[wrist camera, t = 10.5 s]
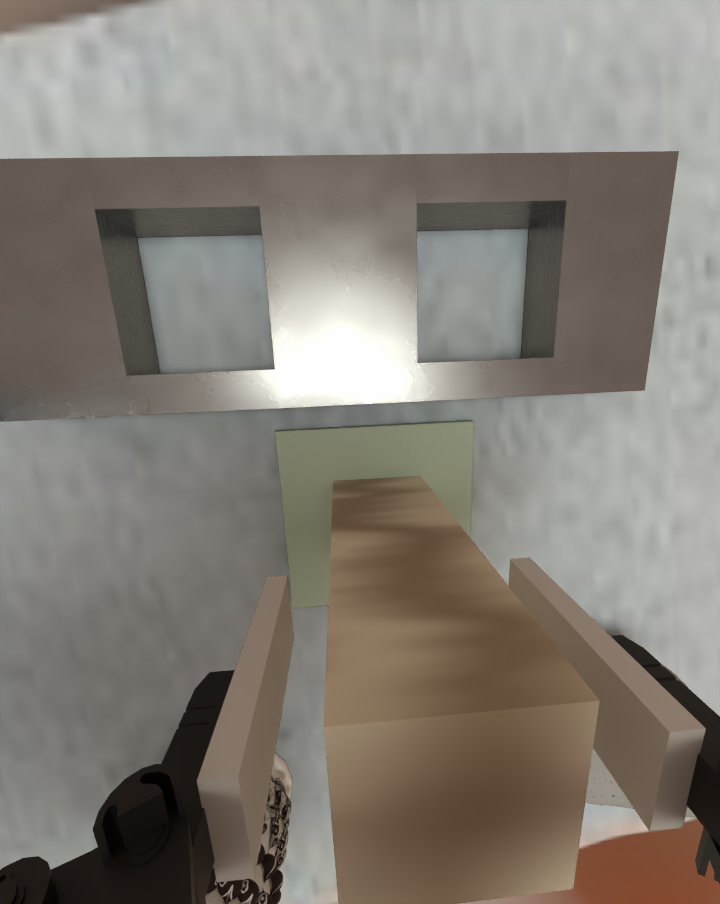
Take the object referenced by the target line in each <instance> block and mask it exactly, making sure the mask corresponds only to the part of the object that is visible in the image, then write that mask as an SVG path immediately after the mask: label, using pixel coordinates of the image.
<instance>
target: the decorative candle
mask: <svg viewBox="0 0 720 904" xmlns="http://www.w3.org/2000/svg"><path fill="white" fill-rule="evenodd" d="M291 786H292V776H291V774H290V772H289V769H288V767H287V765H286V762H285V761H284V760H283V759H282V758H280V757H279V756H278V755H277V754H276V753H275V756H274V762H273V768H272V775H271V781H270V787H269V793H268V799H267V805H266V811H265V817H264V824H263V830H262V836H261V842H260V848H259V854H258V860H257V867H256V873H255V878H251V879H242V880H234V881H225V882H217V881H216V876H215V871H214V866H213V869H212V873H211V877H210V881H209V885H208V889H207V893H206V897H205V899H206V904H278V903H279V901H280V899H281V892H280V888H281V886H282V883H283V875H282V872H281V871H280V870H278V869H279V868H280V867H281V865H282V863H283V862H284V860H285V857H286V846H287V842H288V830H287V828H288V826H289V816H290V812H291V801H290V795H291ZM276 845H277V849H276ZM275 851H276V852H275Z"/></svg>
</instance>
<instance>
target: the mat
mask: <svg viewBox="0 0 720 904" xmlns="http://www.w3.org/2000/svg"><path fill="white" fill-rule="evenodd" d="M473 434H474V421H471V420H465V421H446V422H426V423H407V424H388V425H369V426H350V427H330V428H311V429H292V430H276V431H275V437H276V447H277V457H278V467H279V477H280V487H281V497H282V507H283V517H284V527H285V537H286V547H287V557H288V567H289V577H290V587H291V597H292V607H293V608H303V607H316V606H328V604H329V578H330V551H331V525H332V498H333V481H339V480H356V479H372V478H389V477H406V476H421V477H422V478H423V479H424V481H425V482H426V483H427V484H428V486H429V487H430V488H431V489H432V491H433V492H434V493H435V495H436V496H437V497H438V498H439V500H440V501H441V502H442V503H443V505H444V506H445V507H446V508H447V510H448V511H449V512H450V513H451V515H452V516H453V517H454V518H455V520H456V521H457V522H458V523H459V525H460V526H461V527H462V528H463V530H464V531H465V532H466V533H467V535H468V536H469V537H470V526H471V495H472V465H473Z"/></svg>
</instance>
